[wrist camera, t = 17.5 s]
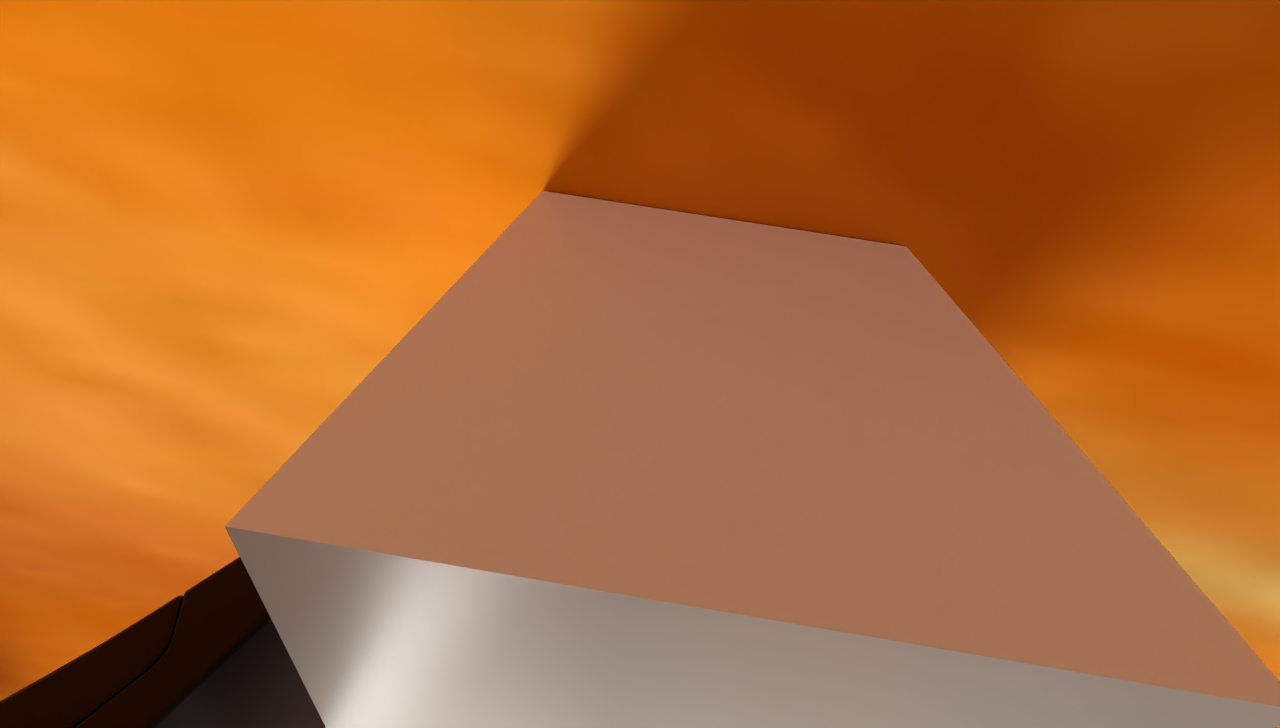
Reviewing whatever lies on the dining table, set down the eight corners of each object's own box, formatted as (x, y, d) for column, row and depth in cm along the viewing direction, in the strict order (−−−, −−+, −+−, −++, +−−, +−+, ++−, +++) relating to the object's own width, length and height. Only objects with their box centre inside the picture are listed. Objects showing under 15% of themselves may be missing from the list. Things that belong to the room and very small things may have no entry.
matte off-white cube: (799, 497, 15) (884, 940, 8) (539, 454, 15) (386, 848, 8) (907, 246, 11) (1305, 712, 4) (542, 190, 11) (225, 525, 4)
